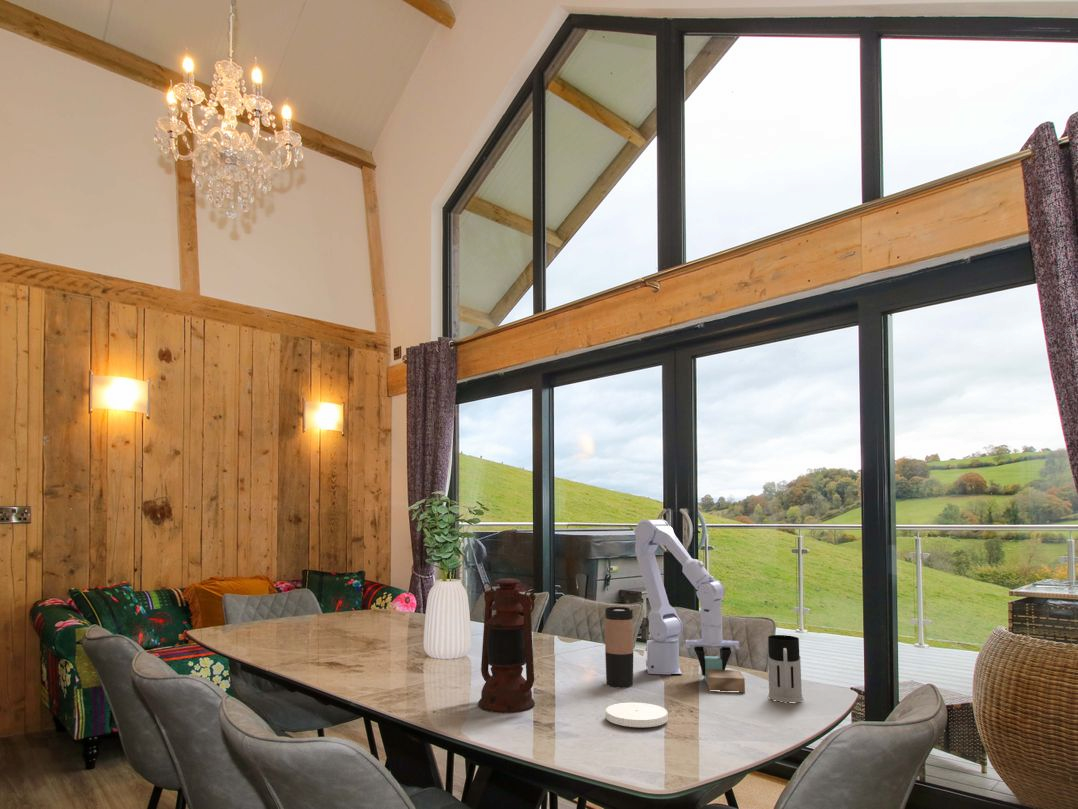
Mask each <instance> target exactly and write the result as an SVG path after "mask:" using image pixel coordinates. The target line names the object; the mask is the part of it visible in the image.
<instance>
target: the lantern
mask: <svg viewBox="0 0 1078 809" xmlns="http://www.w3.org/2000/svg"><path fill="white" fill-rule="evenodd" d="M521 583H522V582H521V580H519V579H517V578H512V577H511V578H507V577H505V578H498V579H497V580H495V581H494V584H497V585H498V587H496V588H495V590H494V589H493V586H492V584H491V583H490V582H488V581H486V582H484V583H483V584H482V592H483V594H484V595H483V597H484V602H485V605H484V617H483V618H484V619H483V634H482V648H481V663H480V666H481V667H480V673H481V677H482V678H483V681H484V682H485V683H484V684H483V686H482V689H481V695H480V696H481V698H480V699H479V700H478V702H477V703H478V704H477V705H478V706H477V707H478V708H479V709H481V710H482V711H485V712H489V713H494V714H495V713H497V714H515V713H522V712H526V711H529V710H531V709H533V708H534V707H535V706H536V701H535V700H534V699H533V691H532V688H533V686H534V683H535V669H534V666H535V665H534V648H533V647H534V646H533V627H532V625H533V624H532V612H533V611H534V609H535V607H536V606H535V605H536V604H535V600H536V598H537V597H536V595H535V592H536V590H535V588H534V587H532V586H529V587H528V588H527V589H526V590H525V592H524V593H521V592H520V588H519V587H516V586H517V585H520V584H521ZM487 584H488V585H489V587H490V589H489V590H486V591H485V585H487ZM530 589H532V592H530V594H529V595H528V592H529V590H530ZM493 611H495V614H494V615H493ZM524 665H525V677H523V675H522V674H523V672H524V667H523V666H524ZM489 666H490V672H489ZM525 678H526V679H525Z"/></svg>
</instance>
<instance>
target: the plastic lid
mask: <svg viewBox="0 0 1078 809" xmlns="http://www.w3.org/2000/svg"><path fill="white" fill-rule="evenodd" d="M668 713H669V712H668V710H667V709H666V708H664V707H662V706H659V705H658V704H657V705H656V704H652V703H645V702H636V701H635V702H619V703H615V704H611V705H609V706H607V707H606V708H605V719H606V720H607V721H608V722H610V723H612V724H615V725H618V726H623V727H629V728H652V727H658V726H662V725H664V724H666V723H667V722H668V719H669V716H668V715H669V714H668Z"/></svg>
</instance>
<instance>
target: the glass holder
mask: <svg viewBox="0 0 1078 809" xmlns="http://www.w3.org/2000/svg"><path fill="white" fill-rule="evenodd" d="M767 636H768V637H767V638H768V639H767V642H768V643H767V646H768V654H767V661H768V662H767V666H768V691H769V692H768V695H767V698H768V697H769V698H770V699H772V700H776V701H782V702H801V701H803V700H804V701H805V699H804V697H803V693H802V691H803V690H802V667H801V656H800V639H799V637H797V636H792V635H787V634H772V635H767ZM770 699H769V700H770ZM772 700H771V701H772ZM804 701H803V702H804ZM801 703H802V702H801Z"/></svg>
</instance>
